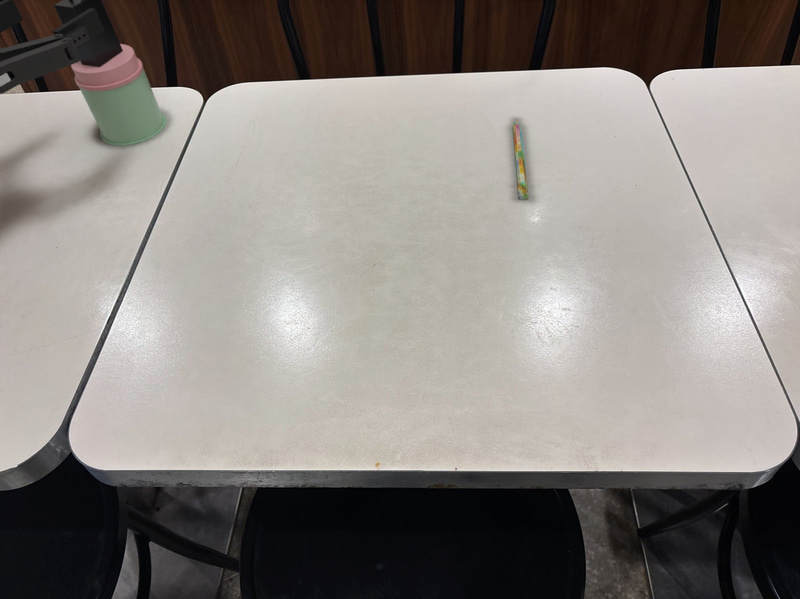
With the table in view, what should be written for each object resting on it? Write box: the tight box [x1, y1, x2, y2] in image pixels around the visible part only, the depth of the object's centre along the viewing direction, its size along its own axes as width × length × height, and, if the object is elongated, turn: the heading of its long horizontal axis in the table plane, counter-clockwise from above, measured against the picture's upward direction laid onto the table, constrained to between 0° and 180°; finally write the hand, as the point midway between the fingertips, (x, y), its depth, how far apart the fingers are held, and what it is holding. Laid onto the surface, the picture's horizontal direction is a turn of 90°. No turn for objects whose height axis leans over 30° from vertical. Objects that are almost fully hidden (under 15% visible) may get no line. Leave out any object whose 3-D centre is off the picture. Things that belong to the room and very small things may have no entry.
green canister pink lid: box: [70, 43, 168, 147], centre depth 87 cm, size 10×10×12 cm
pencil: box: [512, 118, 530, 201], centre depth 80 cm, size 1×1×18 cm
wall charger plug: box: [53, 0, 123, 67], centre depth 79 cm, size 3×5×10 cm, turn 158°
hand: (56, 13), depth 75 cm, fingers open, 13 cm apart
